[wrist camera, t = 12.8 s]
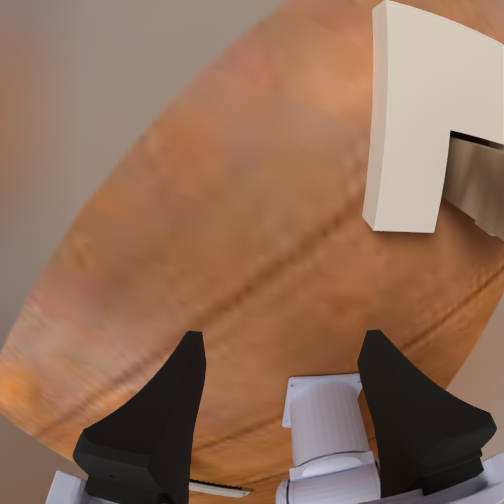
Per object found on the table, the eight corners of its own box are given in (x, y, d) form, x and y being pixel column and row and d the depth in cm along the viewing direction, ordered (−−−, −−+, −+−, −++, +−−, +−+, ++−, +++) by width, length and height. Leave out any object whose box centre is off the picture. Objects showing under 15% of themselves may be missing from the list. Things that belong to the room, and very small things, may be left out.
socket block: (507, 226, 21) (523, 237, 19) (362, 216, 21) (373, 230, 19) (526, 68, 14) (545, 69, 12) (371, 9, 14) (385, -1, 12)
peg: (473, 196, 20) (546, 245, 12) (432, 191, 20) (506, 243, 12) (481, 144, 18) (563, 176, 10) (439, 134, 18) (525, 162, 10)
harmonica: (173, 477, 45) (171, 486, 43) (174, 473, 43) (173, 482, 42) (247, 490, 47) (247, 499, 45) (252, 486, 45) (252, 495, 44)
